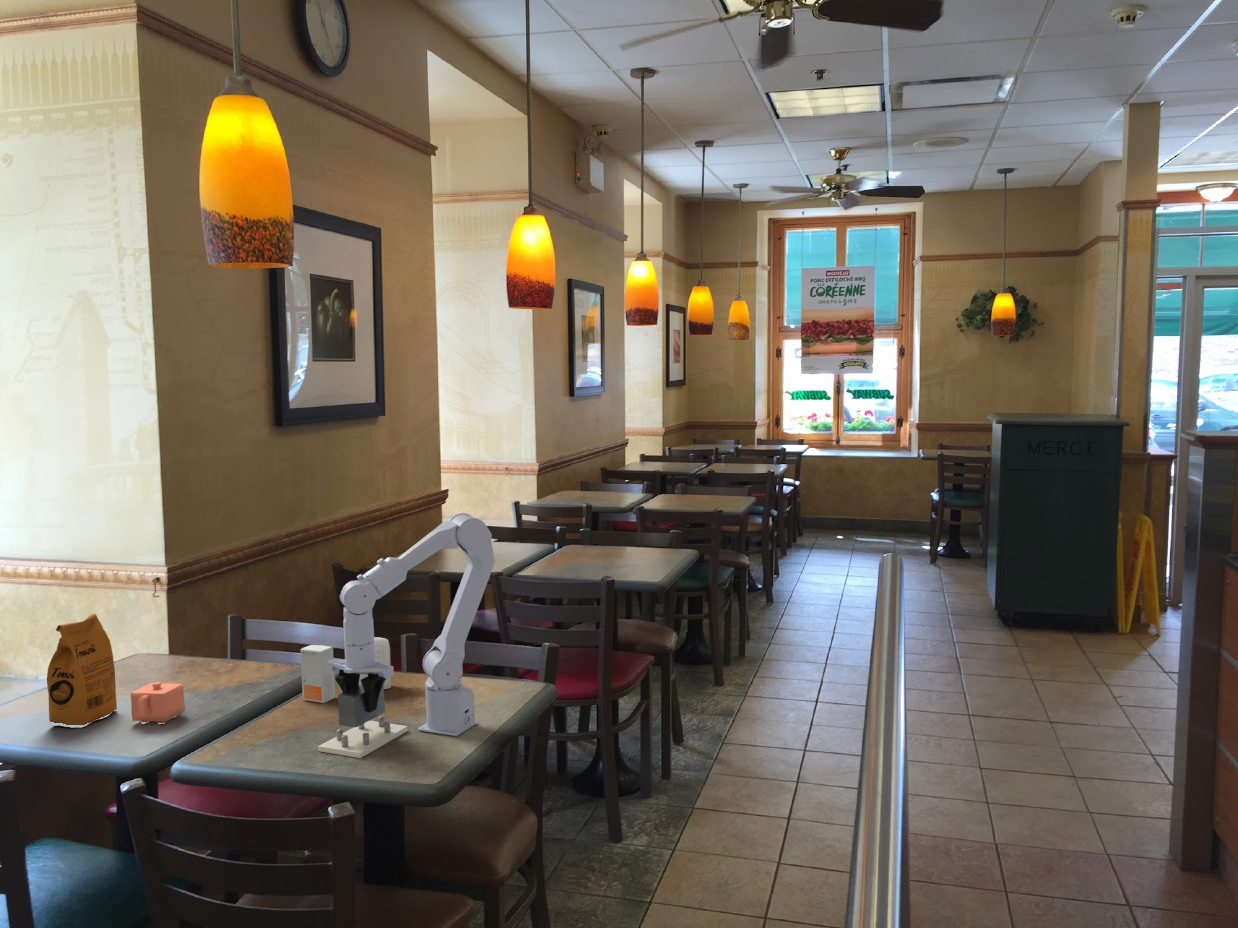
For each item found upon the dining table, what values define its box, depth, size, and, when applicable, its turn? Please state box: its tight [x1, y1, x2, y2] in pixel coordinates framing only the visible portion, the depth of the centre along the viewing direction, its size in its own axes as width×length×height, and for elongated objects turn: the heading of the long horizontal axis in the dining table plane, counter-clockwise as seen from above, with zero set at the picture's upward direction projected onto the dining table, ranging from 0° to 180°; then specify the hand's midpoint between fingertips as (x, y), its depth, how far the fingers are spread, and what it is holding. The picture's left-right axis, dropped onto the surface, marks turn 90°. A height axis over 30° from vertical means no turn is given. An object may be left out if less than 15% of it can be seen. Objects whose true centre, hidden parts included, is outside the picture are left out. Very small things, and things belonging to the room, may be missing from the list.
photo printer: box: [359, 636, 392, 690], centre depth 221 cm, size 10×4×12 cm, turn 123°
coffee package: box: [46, 613, 118, 725], centre depth 206 cm, size 10×12×22 cm
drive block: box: [337, 684, 386, 728], centre depth 190 cm, size 4×9×6 cm, turn 157°
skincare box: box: [299, 644, 336, 704], centre depth 216 cm, size 6×4×12 cm
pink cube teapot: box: [129, 681, 186, 724], centre depth 205 cm, size 8×12×8 cm, turn 170°
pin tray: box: [317, 715, 408, 759], centre depth 190 cm, size 10×15×3 cm, turn 156°
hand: (362, 709), depth 190 cm, fingers closed on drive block, 4 cm apart
